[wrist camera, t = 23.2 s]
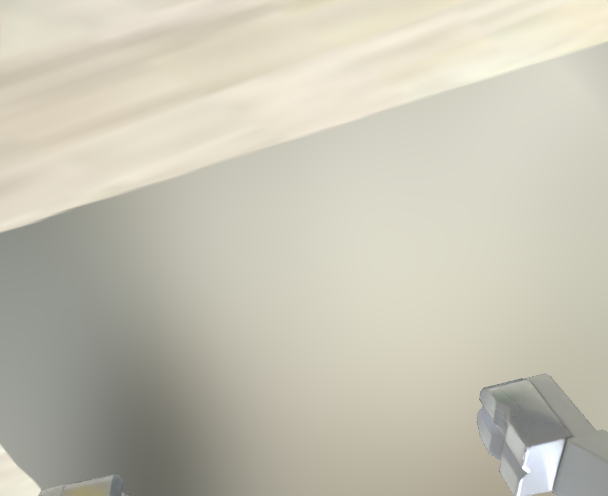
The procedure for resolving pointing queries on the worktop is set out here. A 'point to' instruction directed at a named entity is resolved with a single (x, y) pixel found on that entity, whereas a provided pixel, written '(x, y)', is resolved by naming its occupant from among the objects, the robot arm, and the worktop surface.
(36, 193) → the worktop surface
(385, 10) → the worktop surface
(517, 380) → the robot arm
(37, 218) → the worktop surface
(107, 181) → the worktop surface
